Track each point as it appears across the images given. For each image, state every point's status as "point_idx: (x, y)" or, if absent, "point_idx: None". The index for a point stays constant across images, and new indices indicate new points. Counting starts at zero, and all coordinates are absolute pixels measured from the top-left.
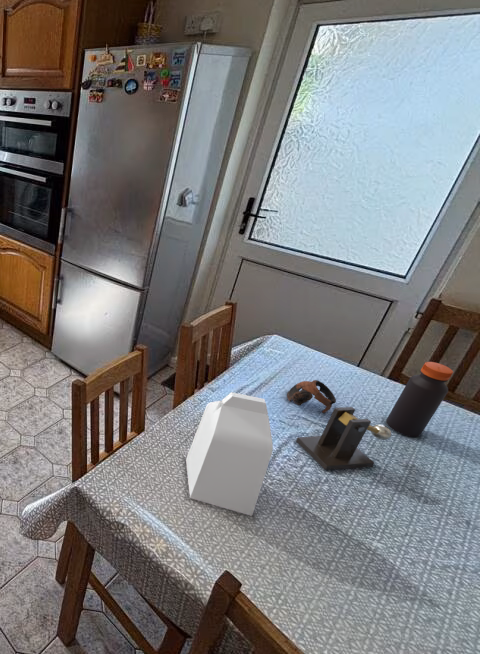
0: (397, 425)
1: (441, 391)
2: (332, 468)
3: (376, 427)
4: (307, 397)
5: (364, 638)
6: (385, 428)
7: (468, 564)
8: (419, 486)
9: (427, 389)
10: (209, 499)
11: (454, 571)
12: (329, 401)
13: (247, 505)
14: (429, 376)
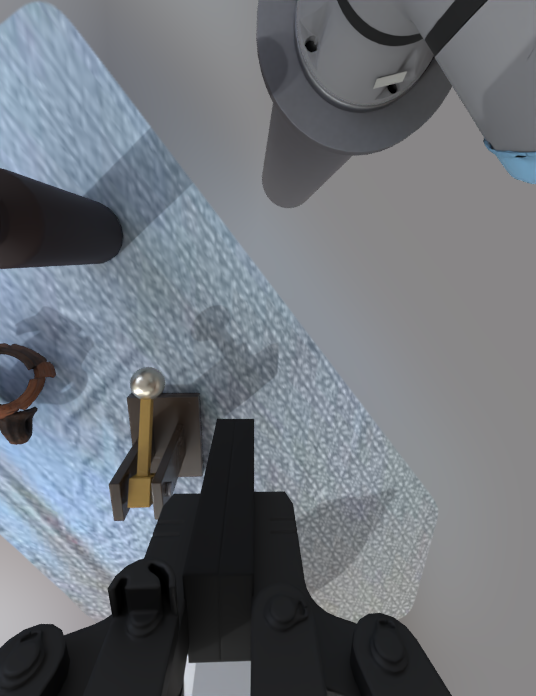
0: (96, 263)
1: (39, 226)
2: (202, 461)
3: (141, 399)
4: (24, 422)
5: (402, 576)
6: (147, 391)
7: (363, 411)
8: (243, 352)
9: (29, 258)
10: None
11: (367, 436)
12: (35, 386)
13: None
14: None
